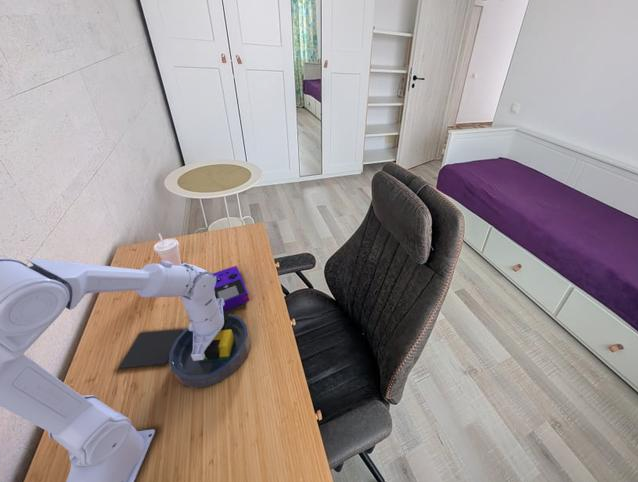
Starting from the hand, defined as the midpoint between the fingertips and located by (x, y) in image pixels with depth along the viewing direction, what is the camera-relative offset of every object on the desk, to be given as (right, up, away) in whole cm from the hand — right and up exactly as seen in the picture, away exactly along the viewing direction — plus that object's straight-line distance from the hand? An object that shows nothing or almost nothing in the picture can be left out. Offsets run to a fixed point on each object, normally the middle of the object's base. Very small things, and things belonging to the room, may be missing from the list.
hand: (217, 348), depth 69 cm
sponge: (0, -1, +1) cm, 1 cm away
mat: (-17, -1, +1) cm, 16 cm away
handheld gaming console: (-6, +8, +17) cm, 19 cm away
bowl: (-1, -2, +1) cm, 2 cm away
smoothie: (-28, +14, +25) cm, 40 cm away
